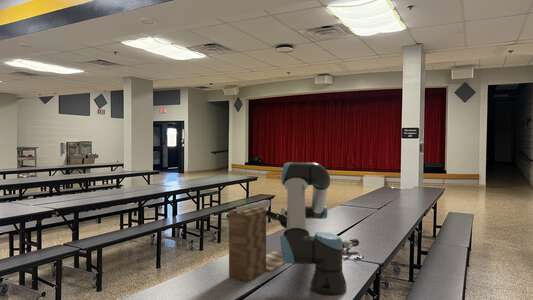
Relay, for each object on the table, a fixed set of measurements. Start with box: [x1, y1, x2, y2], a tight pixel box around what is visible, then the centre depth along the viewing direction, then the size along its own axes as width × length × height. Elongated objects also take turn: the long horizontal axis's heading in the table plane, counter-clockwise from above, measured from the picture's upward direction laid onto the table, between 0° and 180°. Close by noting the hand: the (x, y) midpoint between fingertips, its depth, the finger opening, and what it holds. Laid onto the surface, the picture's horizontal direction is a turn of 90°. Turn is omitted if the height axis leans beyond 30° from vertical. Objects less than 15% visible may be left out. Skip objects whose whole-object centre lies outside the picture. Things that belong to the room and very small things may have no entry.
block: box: [235, 199, 271, 214], centre depth 177 cm, size 24×3×3 cm, turn 146°
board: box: [266, 250, 286, 272], centre depth 192 cm, size 26×14×1 cm, turn 146°
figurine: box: [342, 238, 360, 255], centre depth 205 cm, size 22×7×30 cm
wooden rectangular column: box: [228, 206, 267, 283], centre depth 173 cm, size 16×10×32 cm, turn 146°
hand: (270, 208), depth 189 cm, fingers open, 13 cm apart
